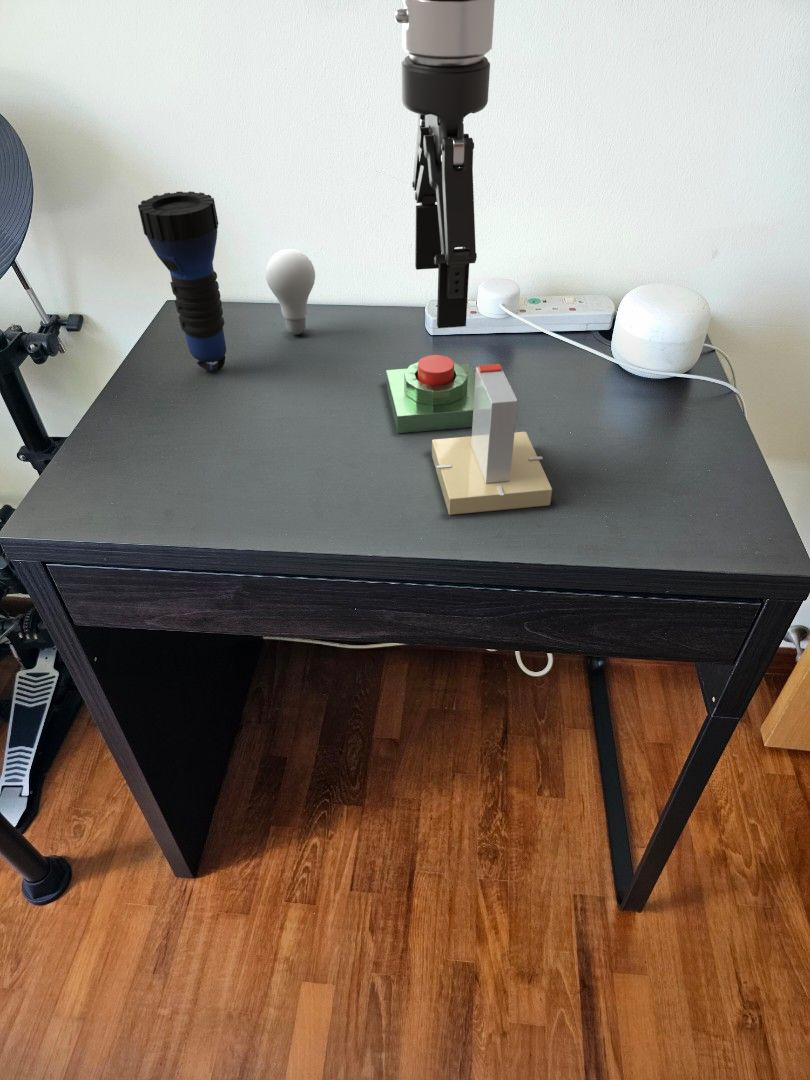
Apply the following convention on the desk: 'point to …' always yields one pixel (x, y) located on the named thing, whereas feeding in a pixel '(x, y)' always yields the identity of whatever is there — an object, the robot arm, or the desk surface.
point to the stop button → (435, 370)
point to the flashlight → (190, 267)
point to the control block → (431, 400)
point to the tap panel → (468, 484)
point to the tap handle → (493, 423)
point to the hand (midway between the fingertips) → (439, 295)
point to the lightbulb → (291, 285)
